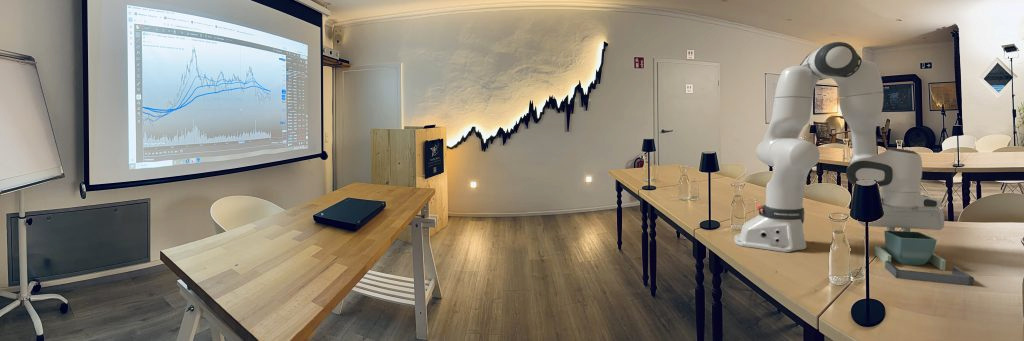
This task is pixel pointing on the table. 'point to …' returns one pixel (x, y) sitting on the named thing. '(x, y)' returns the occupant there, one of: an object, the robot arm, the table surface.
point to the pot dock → (932, 275)
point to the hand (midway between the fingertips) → (897, 240)
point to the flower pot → (909, 247)
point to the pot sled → (885, 256)
